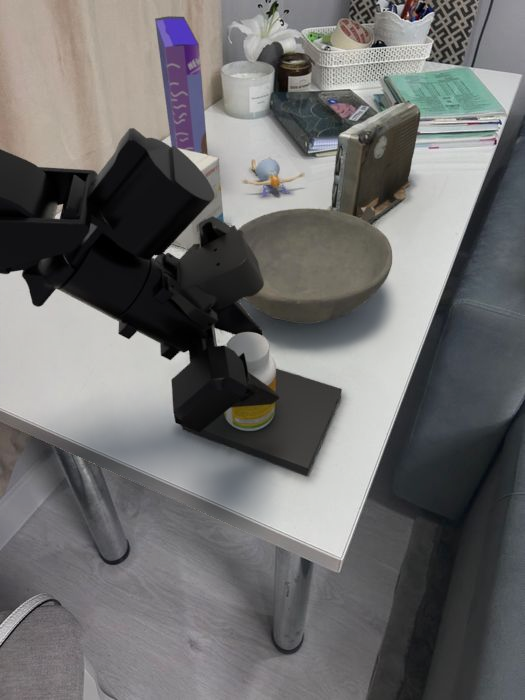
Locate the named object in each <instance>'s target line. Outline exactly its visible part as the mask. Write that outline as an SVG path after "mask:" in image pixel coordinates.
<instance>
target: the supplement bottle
mask: <svg viewBox="0 0 525 700" xmlns="http://www.w3.org/2000/svg"><path fill="white" fill-rule="evenodd" d="M225 346H226V347H228V348H230V349H232V350H233V351H235V353H236V354H237V355H238V356H240V355H241V354H242V353H244V354H245V358H246V363H247V368H248V372H249V373H250V374H252V375H253V376H255V377H256V378H257V379H259V380H260V381H262V382H263V383H264V384H266V385H267V386H269V387H270V388H271V389H272V390H274V391H276V369H277V366H276V365H277V364H276V361H275V359H274V357H273V356H272V355H271V354H270V344H269V342H268V340H267V338H266V337H264V336H263V335H260V334H257V333H253V332H243V333H239V334H236V335H235V334H233V335H232V337H230V338H229V339H228V341H227V343H226V345H225ZM274 413H275V402H274V403H273V404H270V405H256V406H242V407H231V408H229V409H228V410H227V411H226V412H224V415H225V418H226V420H227V421H228V422H229V423H230V424H231V425H232V426H233V427H235V428H237V429H240V430H244V431H255V430H258V429H261V428H263V427H265V426H266V425H268V424H269V423H270V421H271V420H272V418H273V416H274Z"/></svg>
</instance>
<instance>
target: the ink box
mask: <svg viewBox="0 0 525 700" xmlns="http://www.w3.org/2000/svg"><path fill="white" fill-rule="evenodd" d="M178 149H179V150H180V151H181V152H182V153H184V154H185V155H186V156H187V157H188V158H189V159H190V160H191V161H192V162H193V163H194V164H195V165H196V166H197V167H198V168H199V170H200V171H201V172H202V173H203V174H204V176H205V177H206V179H207V180H208V182H209V183H210V185H211V187H212V189H213V192H214V199H213V200H212V201H211V202H210V203H209V204H208V206H207V207H206V208H205V209H204V210H203V211H202V212H201V213H200V214H199V215H198V216H197V217H196V218H195V220H194V221H193V222H192V223H191V224H190V225H189V226H188V227H187V228H186V229H185V230H184V231H183V232H182V233H181V235H180V236H179V237H178V238H177V239H176V240H175V241H174V242H173V243H172V244H171V245H174V246H177V247H180V248H184V249H187V250H189V249H190V248H191V247H192V246H193V245H194V244H200V240H199V225H198V224H199V223H200V222H202V221H204V220H206V219H208V218H210V217H212V216H214V217H215V218H217V219H219V220H220V221H222V222H224V223H225V221H224V220H225V219H224V209H223V197H222V196H223V195H222V185H221V184H222V183H221V171H220V170H221V169H220V158H219V156H214V155H211V154H208V155H206V154H202V153H198V152H193V151H189V150H185V149H180V148H178Z"/></svg>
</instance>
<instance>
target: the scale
mask: <svg viewBox="0 0 525 700" xmlns="http://www.w3.org/2000/svg"><path fill="white" fill-rule="evenodd" d="M275 392H276V393H277V394H278V395H279V399H278V400H277V401H276V402H275V413H274V416H273V418H272V420H271V421H270V423H269V424H268V425H266V426H265V427H263V428H261V429H258V430H255V431H244V430H240V429H237V428H235V427H233V426H232V425H231V424H230V423H229V422H228V421H227V420H226V418H225V415H224V413H223V414H222V415H221V416H219V417H218V418H217V419H216V420H214V421H213V422H212V423H211V424H210V425H208V426H207V427H206V428H205V429H203V430H202V431H201V432H200V433H198V432H195V431H193V430H191V429H188V428H186V427H184V426H181V429H182V431H184V432H187V433H190V434H192V435H195V436H197V437H200V438H203V439H206V440H209V441H211V442H214V443H217V444H219V445H222V446H224V447H228V448H230V449H233V450H235V451H239V452H241V453H244V454H246V455H249V456H252V457H255V458H258V459H260V460H263V461H265V462H268V463H270V464H274V465H276V466H279V467H282V468H284V469H287V470H290V471H292V472H295V473H298V474H301V475H304V476H305V477H307V476H309V472H310V471H311V468H312V465H313V464H314V461H315V460H316V459H315V458H316V456H317V454H318V452H319V449H320V447H321V445H322V442H323V440H324V438H325V435H326V433H327V430H328V428H329V426H330V423H331V421H332V418H333V416H334V414H335V411H336V409H337V407H338V405H339V402H340V399H341V397H342V392H343V388H342V387H341V388H340V387H338V386H334V385H331V384H328V383H325V382H321V381H318V380H315V379H313V378H312V379H311V378H308V377H305V376H302V375H299V374H295V373H292V372H289V371H285V370H282V369H279V368H276V391H275Z"/></svg>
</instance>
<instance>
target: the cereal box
mask: <svg viewBox="0 0 525 700" xmlns="http://www.w3.org/2000/svg"><path fill="white" fill-rule="evenodd" d="M154 21H155V29H156V30H155V31H156V37H157V44H158V51H159V53H158V54H159V60H160V67H161V75H162V76H161V77H162V84H163V90H164V92H163V93H164V99H165V106H166V114H167V122H168V131H169V138H170V145H171V146H170V147H172V146H175V147H176V148H180V149H185V150H189V151H193V152H198V153H202V154H206V155H209V152H208V140H207V128H206V126H207V125H206V115H205V114H206V113H205V102H204V91H203V78H202V65H201V53H200V43H199V41H198V40H197V38H196V37H195V34H194V33H193V31H192V29H191V27H190V25H189V24H188V21H187V20H186V18H185V16H176V15H175V16H173V15H172V16H171V15H168V16H161V17H157V18H154Z"/></svg>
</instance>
